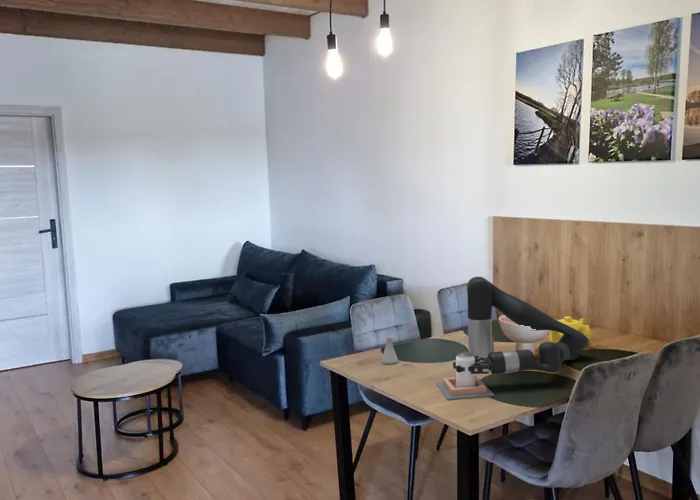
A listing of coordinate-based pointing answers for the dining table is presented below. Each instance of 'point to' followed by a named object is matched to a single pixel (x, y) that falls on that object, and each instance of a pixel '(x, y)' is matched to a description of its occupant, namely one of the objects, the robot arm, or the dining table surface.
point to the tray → (463, 389)
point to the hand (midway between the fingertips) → (455, 367)
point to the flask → (389, 353)
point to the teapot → (574, 324)
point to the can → (465, 377)
